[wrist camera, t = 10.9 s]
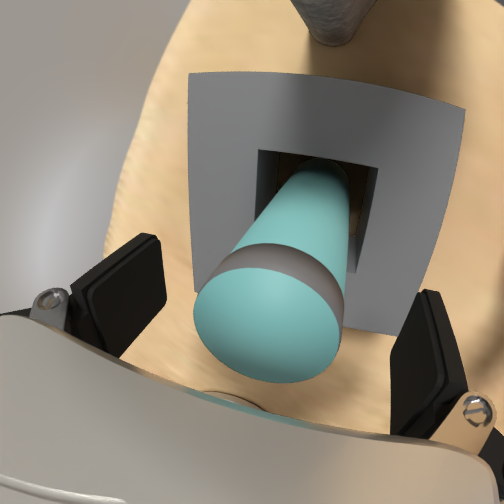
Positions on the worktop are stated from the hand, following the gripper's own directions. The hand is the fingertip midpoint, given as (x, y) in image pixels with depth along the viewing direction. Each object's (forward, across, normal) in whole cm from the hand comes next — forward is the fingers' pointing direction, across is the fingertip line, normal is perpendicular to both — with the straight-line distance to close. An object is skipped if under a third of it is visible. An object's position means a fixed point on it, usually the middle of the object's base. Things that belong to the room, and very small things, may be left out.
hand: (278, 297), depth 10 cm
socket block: (+11, 0, -1) cm, 11 cm away
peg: (+11, 0, -1) cm, 11 cm away
